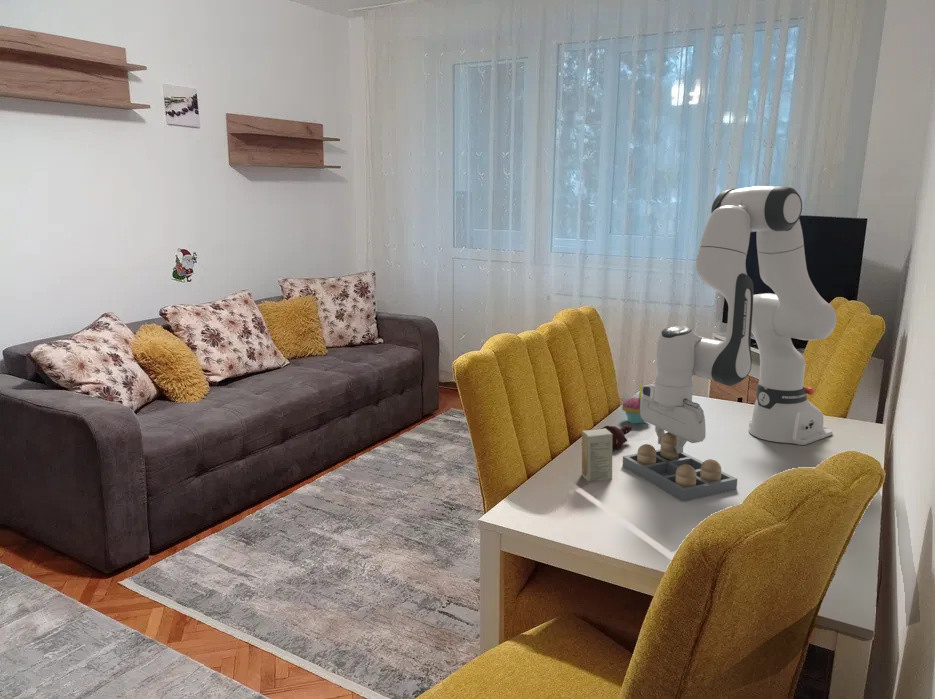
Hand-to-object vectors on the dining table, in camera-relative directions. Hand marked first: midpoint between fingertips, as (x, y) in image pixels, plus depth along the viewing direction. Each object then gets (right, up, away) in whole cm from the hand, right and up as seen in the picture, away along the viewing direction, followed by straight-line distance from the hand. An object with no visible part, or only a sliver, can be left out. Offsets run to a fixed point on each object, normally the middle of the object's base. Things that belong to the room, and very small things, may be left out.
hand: (670, 448), depth 164 cm
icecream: (-12, -3, +14) cm, 18 cm away
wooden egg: (0, -2, 0) cm, 2 cm away
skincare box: (-19, -7, -5) cm, 21 cm away
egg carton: (0, -7, -6) cm, 9 cm away
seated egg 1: (-6, -5, -2) cm, 8 cm away
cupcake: (+1, +3, +36) cm, 36 cm away
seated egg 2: (-1, -7, -14) cm, 16 cm away
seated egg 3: (+5, -7, -12) cm, 15 cm away
